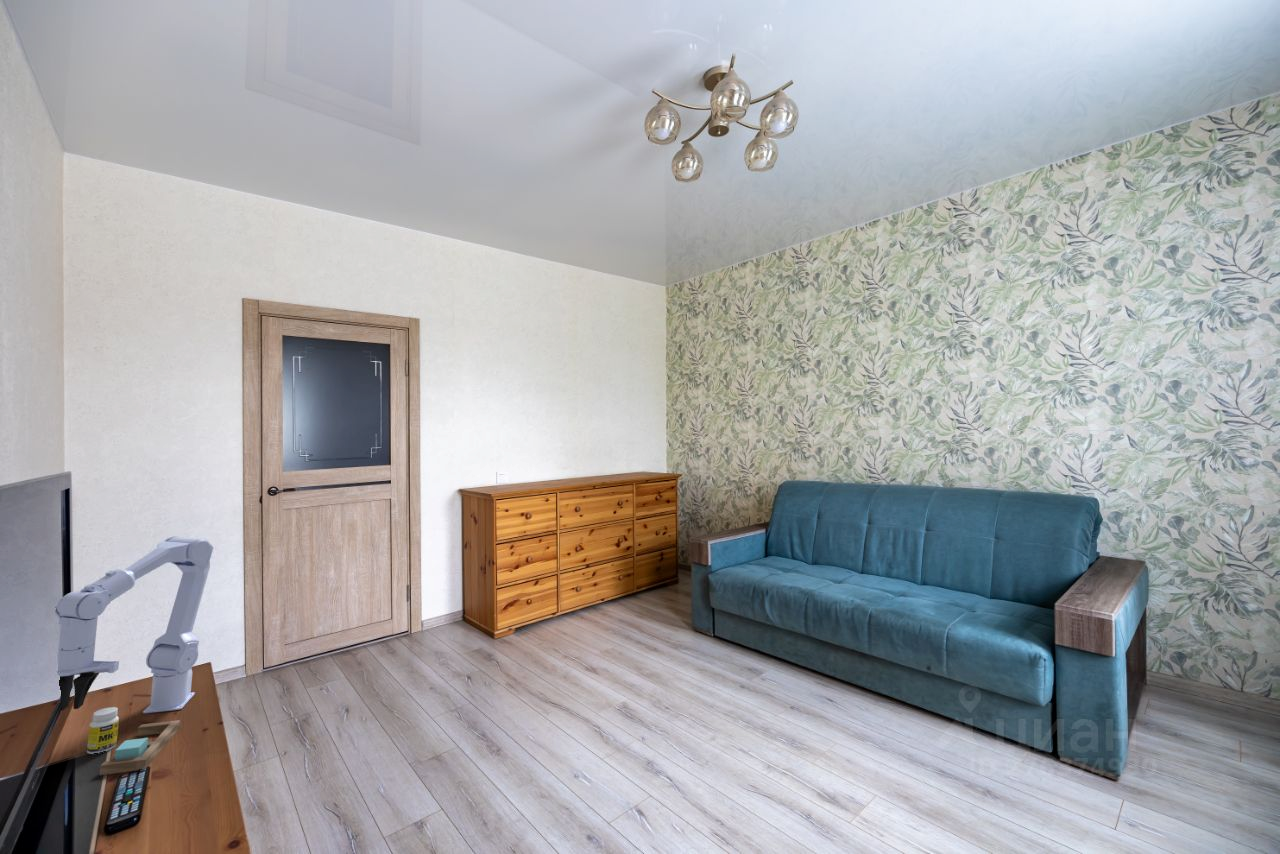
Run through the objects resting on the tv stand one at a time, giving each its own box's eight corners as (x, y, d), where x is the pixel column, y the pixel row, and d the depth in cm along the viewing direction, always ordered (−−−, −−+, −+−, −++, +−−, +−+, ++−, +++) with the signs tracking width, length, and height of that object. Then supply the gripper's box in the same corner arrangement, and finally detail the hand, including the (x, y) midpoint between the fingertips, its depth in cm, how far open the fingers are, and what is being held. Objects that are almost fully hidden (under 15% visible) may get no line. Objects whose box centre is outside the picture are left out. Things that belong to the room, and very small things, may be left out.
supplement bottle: (97, 756, 117) (100, 717, 118) (80, 752, 118) (84, 714, 119) (122, 744, 122) (125, 707, 123) (106, 741, 123) (109, 704, 124)
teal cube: (123, 759, 117) (125, 740, 117) (146, 755, 119) (148, 737, 119) (113, 769, 113) (115, 750, 114) (137, 766, 115) (139, 747, 115)
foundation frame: (140, 733, 127) (141, 724, 127) (179, 728, 130) (180, 720, 130) (99, 775, 111) (100, 765, 111) (145, 769, 114) (145, 759, 114)
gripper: (20, 655, 113) (13, 721, 112) (109, 649, 118) (103, 711, 118) (42, 644, 119) (36, 705, 119) (125, 638, 125) (120, 697, 124)
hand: (71, 707), depth 119 cm, fingers closed
